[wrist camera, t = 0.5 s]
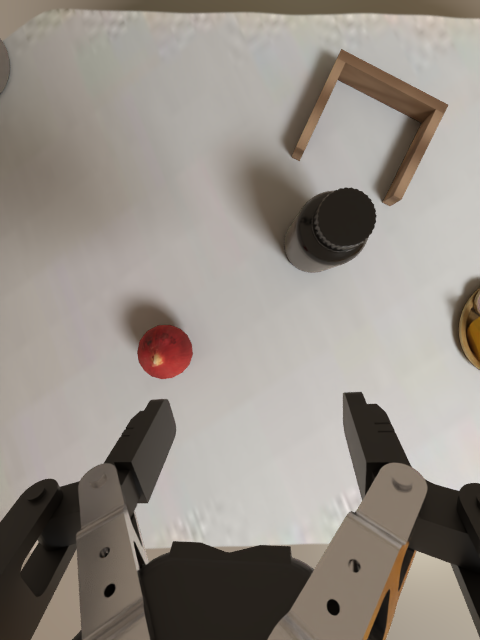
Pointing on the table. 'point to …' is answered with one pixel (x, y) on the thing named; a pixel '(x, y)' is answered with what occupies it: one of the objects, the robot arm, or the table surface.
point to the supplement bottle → (330, 230)
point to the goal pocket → (390, 94)
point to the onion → (164, 351)
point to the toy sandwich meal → (471, 329)
